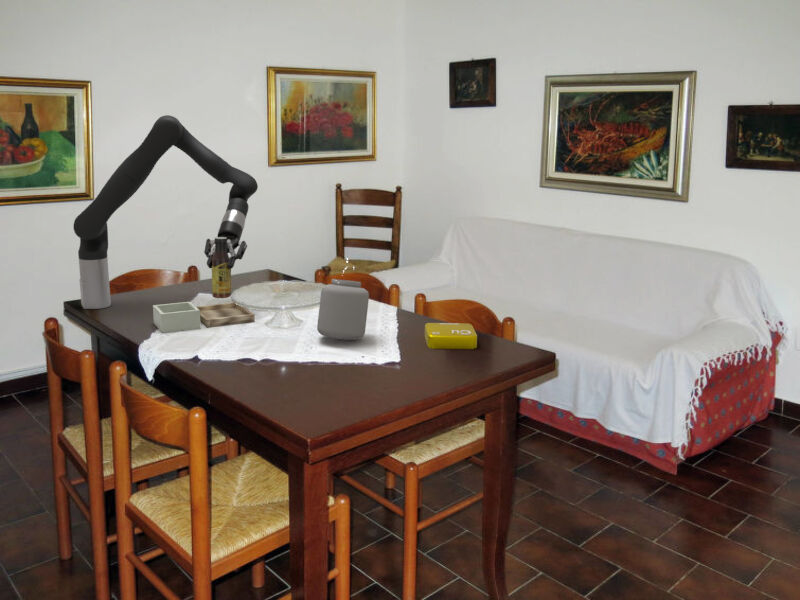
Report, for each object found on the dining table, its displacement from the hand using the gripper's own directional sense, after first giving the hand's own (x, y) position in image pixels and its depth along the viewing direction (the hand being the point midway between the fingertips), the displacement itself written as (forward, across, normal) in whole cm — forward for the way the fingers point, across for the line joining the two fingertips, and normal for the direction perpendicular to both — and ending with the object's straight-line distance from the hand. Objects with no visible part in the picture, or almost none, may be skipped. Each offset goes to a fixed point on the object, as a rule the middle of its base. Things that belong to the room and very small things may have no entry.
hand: (219, 267), depth 250 cm
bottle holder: (+20, -10, +4) cm, 23 cm away
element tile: (+17, +78, +9) cm, 80 cm away
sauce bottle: (+6, 0, +9) cm, 11 cm away
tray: (+11, 0, +14) cm, 18 cm away
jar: (+20, +45, +5) cm, 50 cm away
